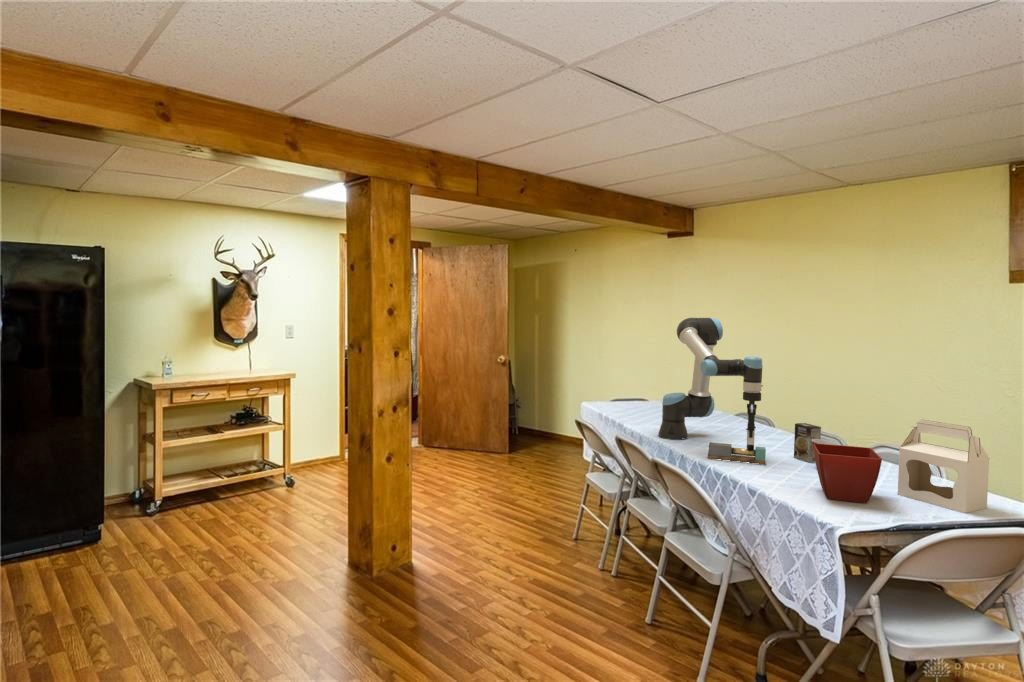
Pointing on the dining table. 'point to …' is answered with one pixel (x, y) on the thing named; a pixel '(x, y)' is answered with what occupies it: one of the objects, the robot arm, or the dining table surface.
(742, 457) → the walnut board
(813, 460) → the coffee box
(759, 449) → the teal socket block
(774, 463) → the dining table surface
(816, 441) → the plastic cup
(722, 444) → the grey rectangular block
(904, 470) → the gable box
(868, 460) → the plant pot
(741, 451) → the slip tube
